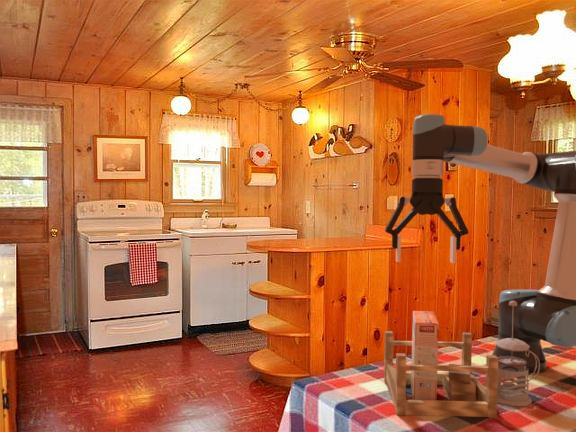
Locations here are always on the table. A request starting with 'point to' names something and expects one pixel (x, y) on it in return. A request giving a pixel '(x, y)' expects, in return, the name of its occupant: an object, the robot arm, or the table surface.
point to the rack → (401, 377)
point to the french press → (513, 372)
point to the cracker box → (424, 355)
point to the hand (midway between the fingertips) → (425, 262)
